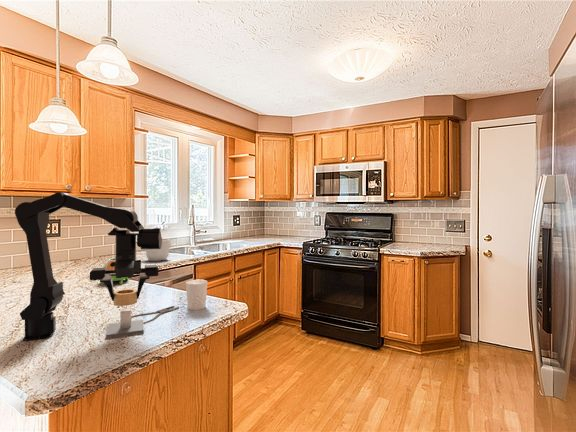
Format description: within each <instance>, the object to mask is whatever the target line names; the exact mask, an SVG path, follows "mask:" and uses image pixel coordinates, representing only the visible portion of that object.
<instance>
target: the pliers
mask: <svg viewBox="0 0 576 432" xmlns="http://www.w3.org/2000/svg"><path fill="white" fill-rule="evenodd" d="M179 309H180V306H176V307H175V305H172V306H168V307H165V308H162V309H159V310H156V311H151V312H145V313H140V314H135V315H131V319H132V318H133V319H134V318H136V317H143V316H149V315H155V314H156V315H155V316H154V317H153V318H151V319H149V320H146V321H143V325H145V324H148V323H150V322H153V321H155V320H156V319H158V318H159V317H160V316H161V315H164V314H166V313H170V312H174V311H176V310H179Z"/></svg>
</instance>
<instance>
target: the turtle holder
mask: <svg viewBox="0 0 576 432" xmlns="http://www.w3.org/2000/svg"><path fill="white" fill-rule="evenodd" d="M104 267H106V269H107V270H115V258H113V257H112V258H109V259H108V261H106V262H105V263H104V265H103V267H102V268H104ZM111 277H112V280H113V282H118V281H119V282H118V283H119V284H120V285H122V284H123V283H124V280H125V281H126V282H127V281H129V280H130V279H129V278H128V277H123V278H116V276H111ZM101 284H102V285H105V284H104V283H103V282H102V283H101Z"/></svg>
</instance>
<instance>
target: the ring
mask: <svg viewBox="0 0 576 432" xmlns="http://www.w3.org/2000/svg"><path fill="white" fill-rule="evenodd" d="M137 303H138V299H137V289H135V288H134V289H132V288H125V289H120V290H116V291H114V301H113V306H116V307H124V306H125V307H128V306H131V305H135V304H137Z"/></svg>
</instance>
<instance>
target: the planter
mask: <svg viewBox="0 0 576 432" xmlns="http://www.w3.org/2000/svg"><path fill="white" fill-rule="evenodd" d="M170 246H171V239H170V238H162V246H161V249H145V257H146V258H147V260H148V261H150V262H162V261H161V260H163V261H166V260H167V259H168V257H169V254H170Z"/></svg>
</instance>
